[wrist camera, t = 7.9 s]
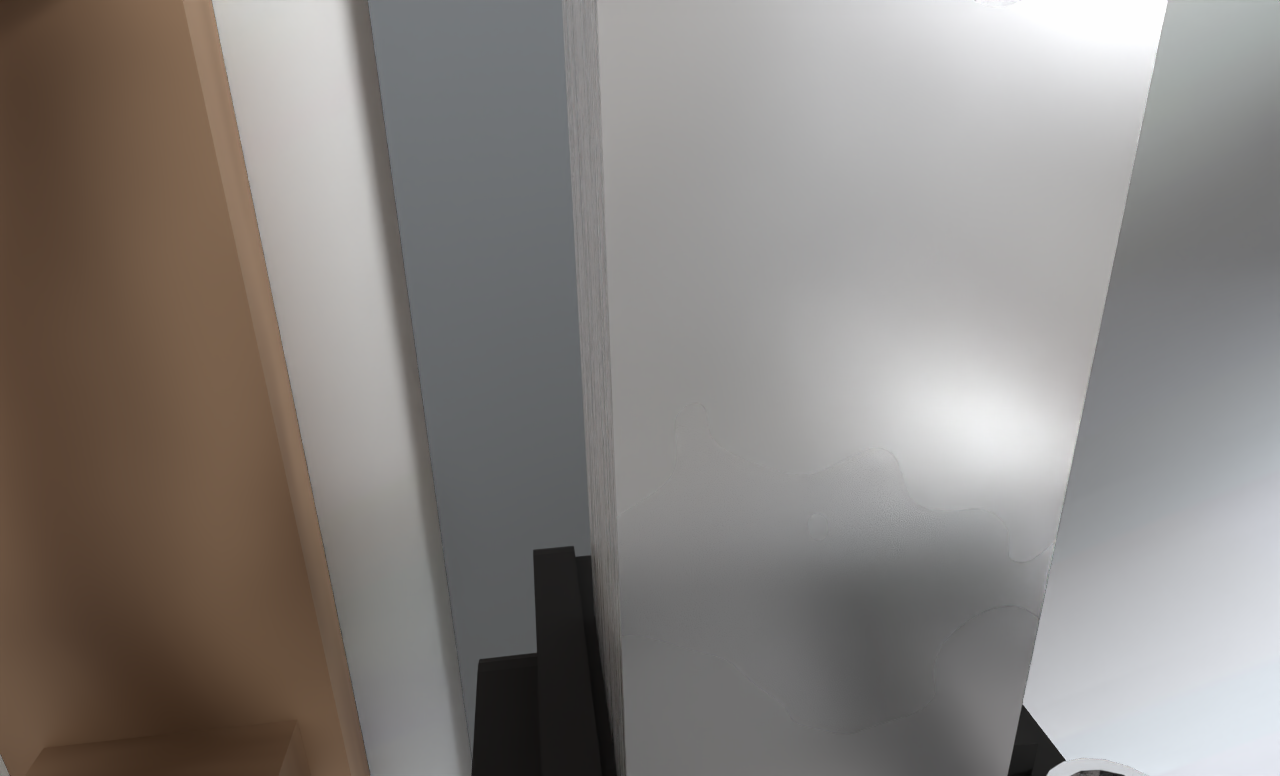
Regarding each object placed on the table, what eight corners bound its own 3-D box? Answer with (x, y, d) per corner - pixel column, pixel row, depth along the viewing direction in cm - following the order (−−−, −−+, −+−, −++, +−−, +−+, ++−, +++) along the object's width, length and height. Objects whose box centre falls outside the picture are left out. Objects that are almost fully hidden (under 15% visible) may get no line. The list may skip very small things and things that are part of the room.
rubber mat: (889, -375, 15) (900, -388, 14) (802, 765, 26) (806, 778, 25) (318, -395, 14) (311, -409, 13) (481, 805, 25) (480, 820, 24)
